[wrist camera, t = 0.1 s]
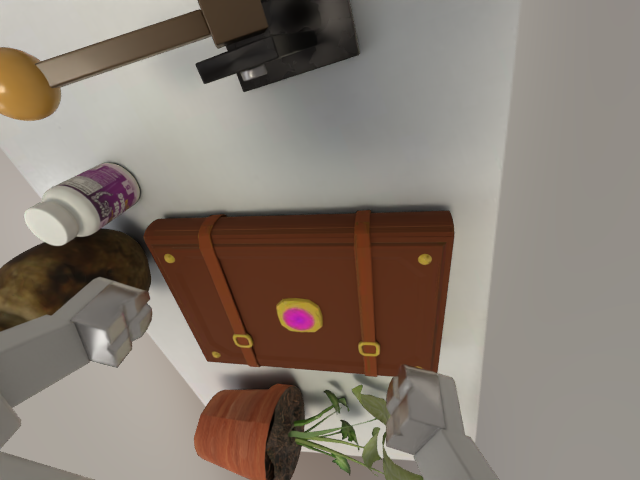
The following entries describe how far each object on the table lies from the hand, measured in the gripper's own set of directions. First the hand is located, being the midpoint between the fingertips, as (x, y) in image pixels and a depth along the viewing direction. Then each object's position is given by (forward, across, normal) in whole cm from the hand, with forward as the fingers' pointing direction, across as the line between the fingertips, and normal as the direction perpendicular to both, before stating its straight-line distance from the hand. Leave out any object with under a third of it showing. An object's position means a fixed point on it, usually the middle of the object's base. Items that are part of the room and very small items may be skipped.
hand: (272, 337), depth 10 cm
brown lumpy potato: (+23, +23, +22) cm, 39 cm away
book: (+23, 0, +20) cm, 30 cm away
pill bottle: (+23, +24, +12) cm, 35 cm away
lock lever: (+12, +12, -4) cm, 17 cm away
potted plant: (+23, -7, +42) cm, 49 cm away
